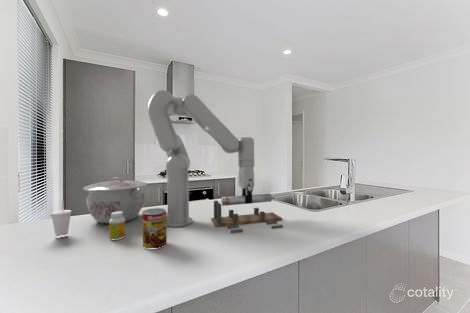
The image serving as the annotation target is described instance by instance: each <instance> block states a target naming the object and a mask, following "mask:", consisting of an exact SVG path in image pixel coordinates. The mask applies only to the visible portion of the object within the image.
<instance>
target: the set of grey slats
mask: <svg viewBox="0 0 470 313" xmlns="http://www.w3.org/2000/svg"><path fill="white" fill-rule="evenodd" d="M274 224H275V225H274ZM265 225H267V226H268V225H271V229H281V228H283V227H284V225H283V224H278V221H271V222H265ZM238 228H239V229H238ZM226 229H227V230H228V229H230V234H236V233H243V232H244V229H243V228H241V229H240V225H232V226H226Z"/></svg>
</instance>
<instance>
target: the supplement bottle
mask: <svg viewBox="0 0 470 313" xmlns="http://www.w3.org/2000/svg"><path fill="white" fill-rule="evenodd" d="M122 216H123V212H121V211H117V212H113V213H111V217H112V218H111V219H110V220H109V224H108V229H109V231H108V233H109V235H108V237H109V238H110V239H119V238H122V237H124V236H125V237H126V222H125V218H124V217H122ZM109 238H108V239H109ZM110 239H109V240H110Z"/></svg>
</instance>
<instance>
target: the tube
mask: <svg viewBox="0 0 470 313" xmlns="http://www.w3.org/2000/svg"><path fill="white" fill-rule="evenodd" d="M272 201H273V195H272V193H270V192H269V193H256V194H255V193H254V194H252V203H251V204H258V203H259V204H260V203H269V202H272ZM220 202H221V207H224V206H235V205H247V204H246V203H245V195H242V194H241V195H232V196H221V201H220Z"/></svg>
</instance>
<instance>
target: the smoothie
mask: <svg viewBox="0 0 470 313" xmlns="http://www.w3.org/2000/svg"><path fill="white" fill-rule="evenodd" d="M64 202H65V201H64V200H61V209H59V210H55V211H53V212H51V213H50V217H51V220H52V224H53V230H54V236H55V235H56V236H60V235H66V234H68V235H69V230H70V220H71V214H72V210H71V209H64V208H65V207H64V204H65V203H64ZM56 236H55V237H56Z"/></svg>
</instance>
